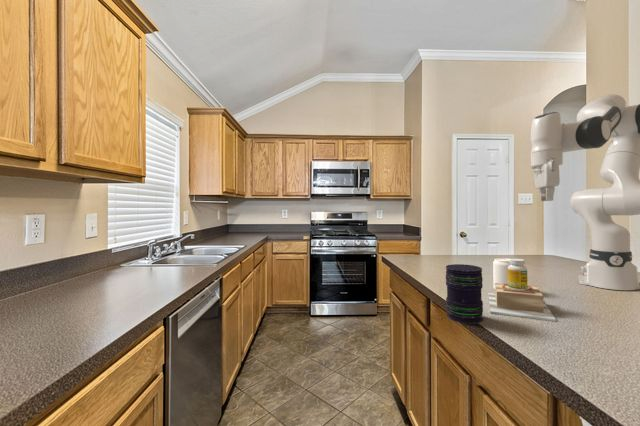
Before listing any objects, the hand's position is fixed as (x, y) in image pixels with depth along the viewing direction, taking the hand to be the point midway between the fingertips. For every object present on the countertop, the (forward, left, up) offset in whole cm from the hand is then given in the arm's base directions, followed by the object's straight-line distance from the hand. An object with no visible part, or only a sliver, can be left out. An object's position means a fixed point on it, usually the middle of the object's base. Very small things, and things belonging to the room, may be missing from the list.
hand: (546, 201), depth 104 cm
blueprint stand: (+12, -10, -34) cm, 37 cm away
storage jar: (+30, -25, -34) cm, 52 cm away
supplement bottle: (+12, -10, -29) cm, 33 cm away
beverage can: (-7, -12, -34) cm, 37 cm away
